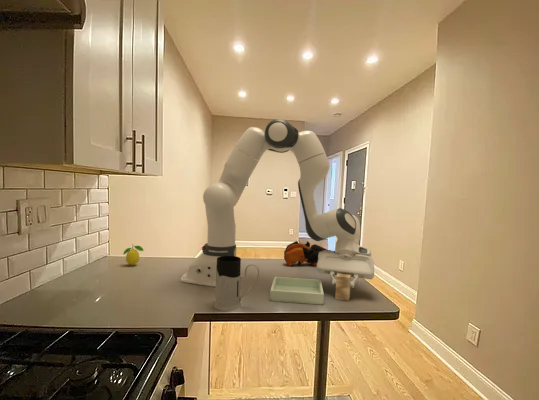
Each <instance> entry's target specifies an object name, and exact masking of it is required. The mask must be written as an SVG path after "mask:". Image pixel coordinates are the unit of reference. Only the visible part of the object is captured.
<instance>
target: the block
mask: <svg viewBox="0 0 539 400" xmlns="http://www.w3.org/2000/svg"><path fill="white" fill-rule="evenodd" d="M335 276H336V278H335V279H336V286H335V294H334V295H335V299H334V300H339V301H347V302H349V301H350V298H351V297H350V296H351V288H350V281H352V280H351V278H352V277H351V274H344V273H338V274H337V275H335Z"/></svg>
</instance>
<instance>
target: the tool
mask: <svg viewBox="0 0 539 400" xmlns="http://www.w3.org/2000/svg"><path fill="white" fill-rule="evenodd" d="M323 250H327V251H332V250H331V249H327V248H324V247H322V246H320V245H318V244H316V243H314V244H312V245H311V243H310V242H309V241H308V240H307V241H306V243H301V242H299V241H298V240H295V241H294V242H292V243H289V244H288V245H286V248H285V250H283V252H284V253H283V254H284V255H283V259H284V261H285V263H286V265H287V267H292V266H293V264H297V265H298V266H300V265H302V264H304V263H307V264H310V265H312V266H315V267H317V262H318V254H319V252H321V251H323Z"/></svg>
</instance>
